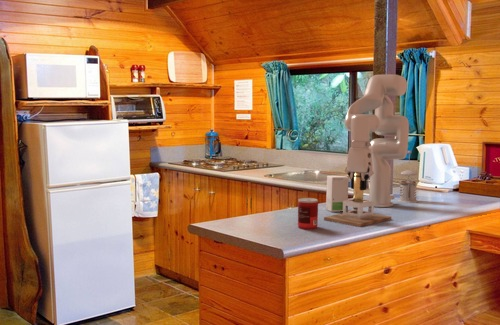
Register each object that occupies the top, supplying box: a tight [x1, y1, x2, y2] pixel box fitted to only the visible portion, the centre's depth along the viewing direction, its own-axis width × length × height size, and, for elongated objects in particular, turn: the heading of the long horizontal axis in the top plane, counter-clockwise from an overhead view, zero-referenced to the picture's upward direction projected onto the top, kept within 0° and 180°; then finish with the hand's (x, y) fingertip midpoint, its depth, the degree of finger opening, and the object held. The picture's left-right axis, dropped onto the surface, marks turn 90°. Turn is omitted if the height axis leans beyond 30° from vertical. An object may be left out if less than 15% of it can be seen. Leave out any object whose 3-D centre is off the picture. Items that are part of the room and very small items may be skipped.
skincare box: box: [325, 175, 350, 213], centre depth 269 cm, size 8×7×16 cm
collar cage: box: [342, 198, 375, 220], centre depth 249 cm, size 9×9×7 cm
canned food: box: [297, 197, 319, 230], centre depth 233 cm, size 8×8×11 cm
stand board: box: [323, 212, 392, 228], centre depth 250 cm, size 22×18×1 cm
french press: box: [397, 150, 419, 204], centre depth 295 cm, size 10×12×25 cm
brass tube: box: [352, 172, 364, 210], centre depth 248 cm, size 4×4×15 cm
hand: (358, 188), depth 248 cm, fingers closed on brass tube, 4 cm apart
